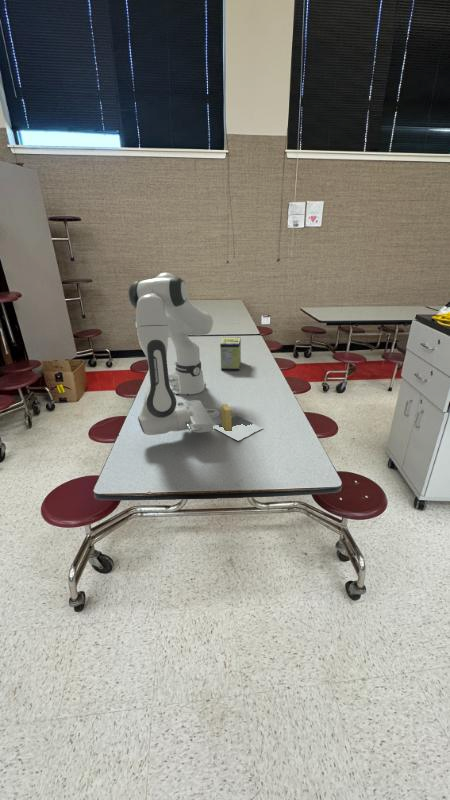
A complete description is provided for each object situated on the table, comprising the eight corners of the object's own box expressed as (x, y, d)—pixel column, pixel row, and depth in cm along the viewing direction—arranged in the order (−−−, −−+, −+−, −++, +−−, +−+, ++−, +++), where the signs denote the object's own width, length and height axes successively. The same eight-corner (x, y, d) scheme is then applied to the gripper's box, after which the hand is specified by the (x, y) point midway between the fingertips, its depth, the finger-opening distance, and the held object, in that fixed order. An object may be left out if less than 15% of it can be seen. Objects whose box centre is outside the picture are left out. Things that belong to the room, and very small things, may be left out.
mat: (211, 427, 144) (211, 427, 144) (236, 416, 152) (236, 415, 152) (238, 442, 134) (238, 441, 134) (263, 428, 142) (263, 427, 142)
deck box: (225, 431, 140) (225, 410, 136) (221, 425, 144) (221, 404, 140) (231, 430, 141) (231, 409, 136) (227, 424, 145) (227, 403, 141)
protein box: (240, 362, 214) (240, 336, 208) (239, 371, 200) (239, 344, 194) (223, 361, 215) (222, 336, 209) (220, 371, 201) (220, 344, 195)
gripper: (188, 423, 124) (226, 417, 128) (177, 399, 142) (210, 394, 146) (189, 439, 127) (226, 432, 131) (178, 413, 145) (211, 408, 148)
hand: (218, 412), depth 138 cm, fingers closed
